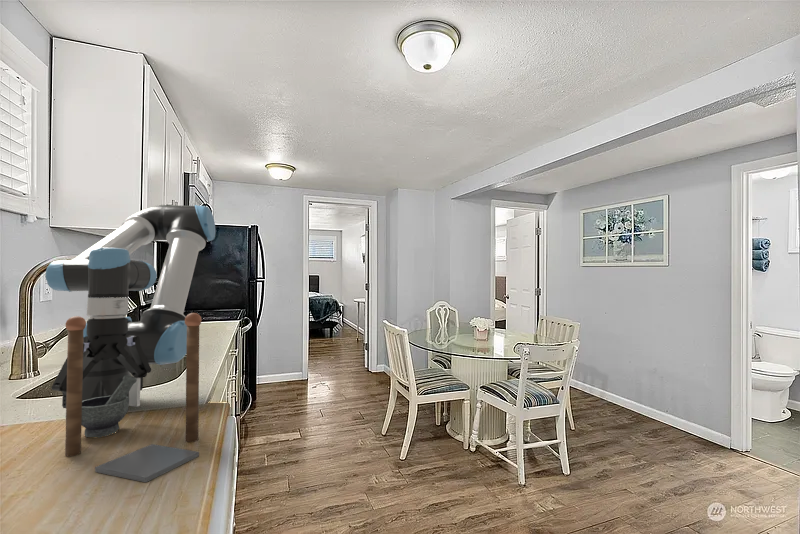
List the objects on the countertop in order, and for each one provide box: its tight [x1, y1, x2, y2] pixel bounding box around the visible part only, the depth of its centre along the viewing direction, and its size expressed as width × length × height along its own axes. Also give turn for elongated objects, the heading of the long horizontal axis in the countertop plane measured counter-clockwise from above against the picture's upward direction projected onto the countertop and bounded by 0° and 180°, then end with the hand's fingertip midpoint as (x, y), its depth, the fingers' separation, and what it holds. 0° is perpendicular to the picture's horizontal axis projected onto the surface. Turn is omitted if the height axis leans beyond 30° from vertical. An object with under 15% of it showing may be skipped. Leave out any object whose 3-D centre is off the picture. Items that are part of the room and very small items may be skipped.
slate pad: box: [94, 443, 200, 483], centre depth 76 cm, size 11×12×1 cm
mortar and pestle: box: [82, 375, 137, 438], centre depth 93 cm, size 11×9×12 cm
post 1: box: [64, 315, 87, 457], centre depth 81 cm, size 3×3×26 cm
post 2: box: [184, 312, 202, 443], centre depth 88 cm, size 3×3×26 cm
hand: (105, 414), depth 92 cm, fingers open, 13 cm apart
